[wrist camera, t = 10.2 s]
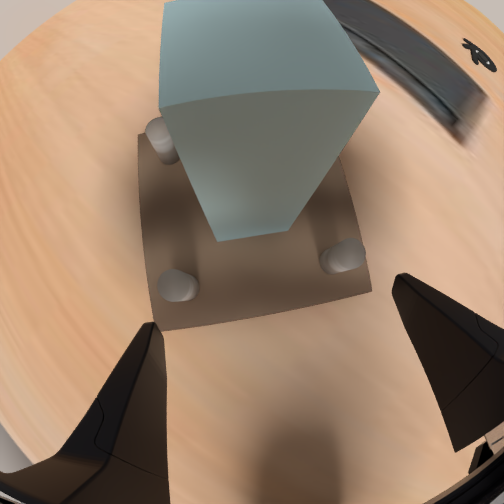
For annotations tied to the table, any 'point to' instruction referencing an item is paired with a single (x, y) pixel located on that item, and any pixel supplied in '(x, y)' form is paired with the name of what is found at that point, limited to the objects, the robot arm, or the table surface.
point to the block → (258, 105)
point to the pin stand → (240, 249)
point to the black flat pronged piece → (480, 56)
